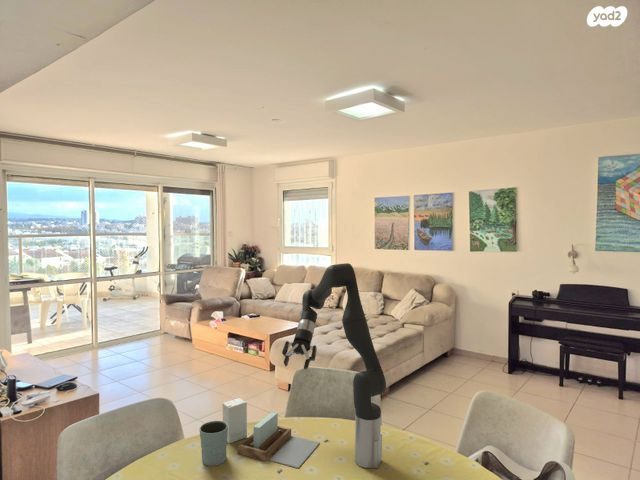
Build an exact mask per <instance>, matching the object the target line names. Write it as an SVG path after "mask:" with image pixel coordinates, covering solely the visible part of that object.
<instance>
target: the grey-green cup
mask: <svg viewBox="0 0 640 480" xmlns="http://www.w3.org/2000/svg"><path fill="white" fill-rule="evenodd" d="M227 432H228V425H227V423H225V422H223V420H213V421H208V422H205V423H203V424H201V425H200V427H199V436H200V448H201V461H202V464H203V465H205V466H218V465H221V464H222V463H224V462H225V461H226V460H227V445H228V442H227Z"/></svg>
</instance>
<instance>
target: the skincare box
mask: <svg viewBox="0 0 640 480" xmlns="http://www.w3.org/2000/svg"><path fill="white" fill-rule="evenodd" d="M247 406H248V405H247V401H245V400H244V399H243V398H241V397H238V398H235V399H231V400H228V401H225V402H222V421H223V422H225V423H227V425H228V432H227V444H232V443H234V442H238V441H240V440H242V439H245V438H248V427H247V426H248V419H247V417H248V415H247V414H248V413H247V412H248V411H247V409H248V407H247Z"/></svg>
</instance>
